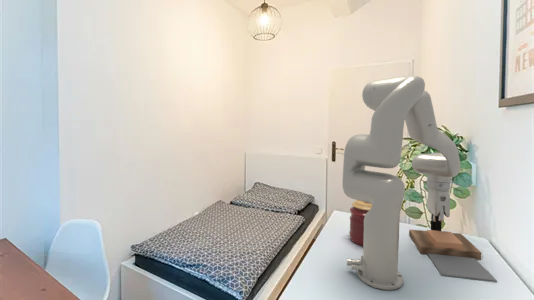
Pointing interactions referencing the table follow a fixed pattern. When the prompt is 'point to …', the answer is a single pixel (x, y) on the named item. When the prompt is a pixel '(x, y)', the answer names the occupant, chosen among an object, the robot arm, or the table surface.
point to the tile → (444, 239)
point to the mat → (460, 267)
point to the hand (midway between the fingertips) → (435, 230)
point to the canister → (358, 221)
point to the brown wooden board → (428, 247)
